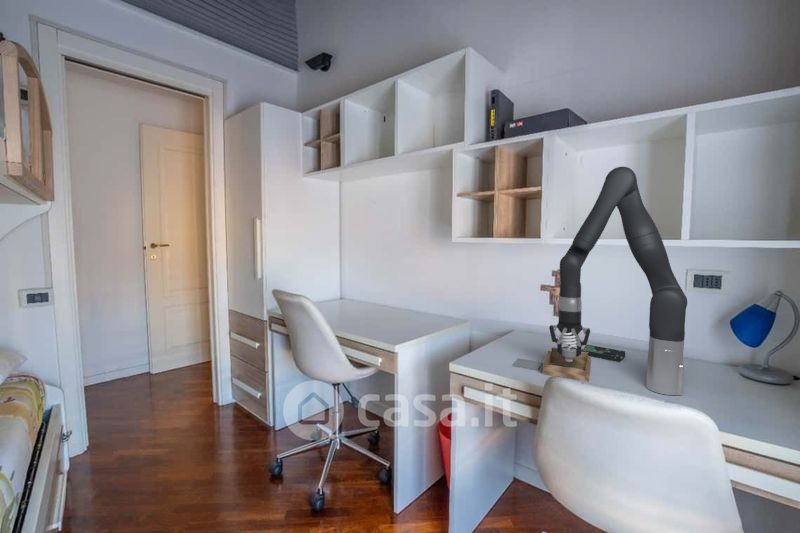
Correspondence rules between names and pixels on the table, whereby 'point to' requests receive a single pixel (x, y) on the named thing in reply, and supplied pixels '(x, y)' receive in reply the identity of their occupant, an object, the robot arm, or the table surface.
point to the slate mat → (527, 364)
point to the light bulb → (569, 347)
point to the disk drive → (604, 353)
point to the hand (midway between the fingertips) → (568, 354)
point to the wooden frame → (571, 373)
